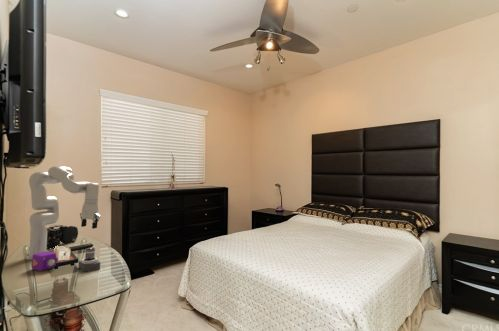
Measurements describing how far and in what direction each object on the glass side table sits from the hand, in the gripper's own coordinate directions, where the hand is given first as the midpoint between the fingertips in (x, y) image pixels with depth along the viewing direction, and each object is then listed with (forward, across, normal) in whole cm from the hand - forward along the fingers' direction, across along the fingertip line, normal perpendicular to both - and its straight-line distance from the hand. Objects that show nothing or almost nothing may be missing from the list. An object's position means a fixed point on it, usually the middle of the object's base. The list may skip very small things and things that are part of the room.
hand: (89, 227), depth 175 cm
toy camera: (+25, -15, -16) cm, 33 cm away
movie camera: (+26, -58, +22) cm, 67 cm away
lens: (+20, +7, -4) cm, 22 cm away
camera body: (+24, +7, -4) cm, 26 cm away
